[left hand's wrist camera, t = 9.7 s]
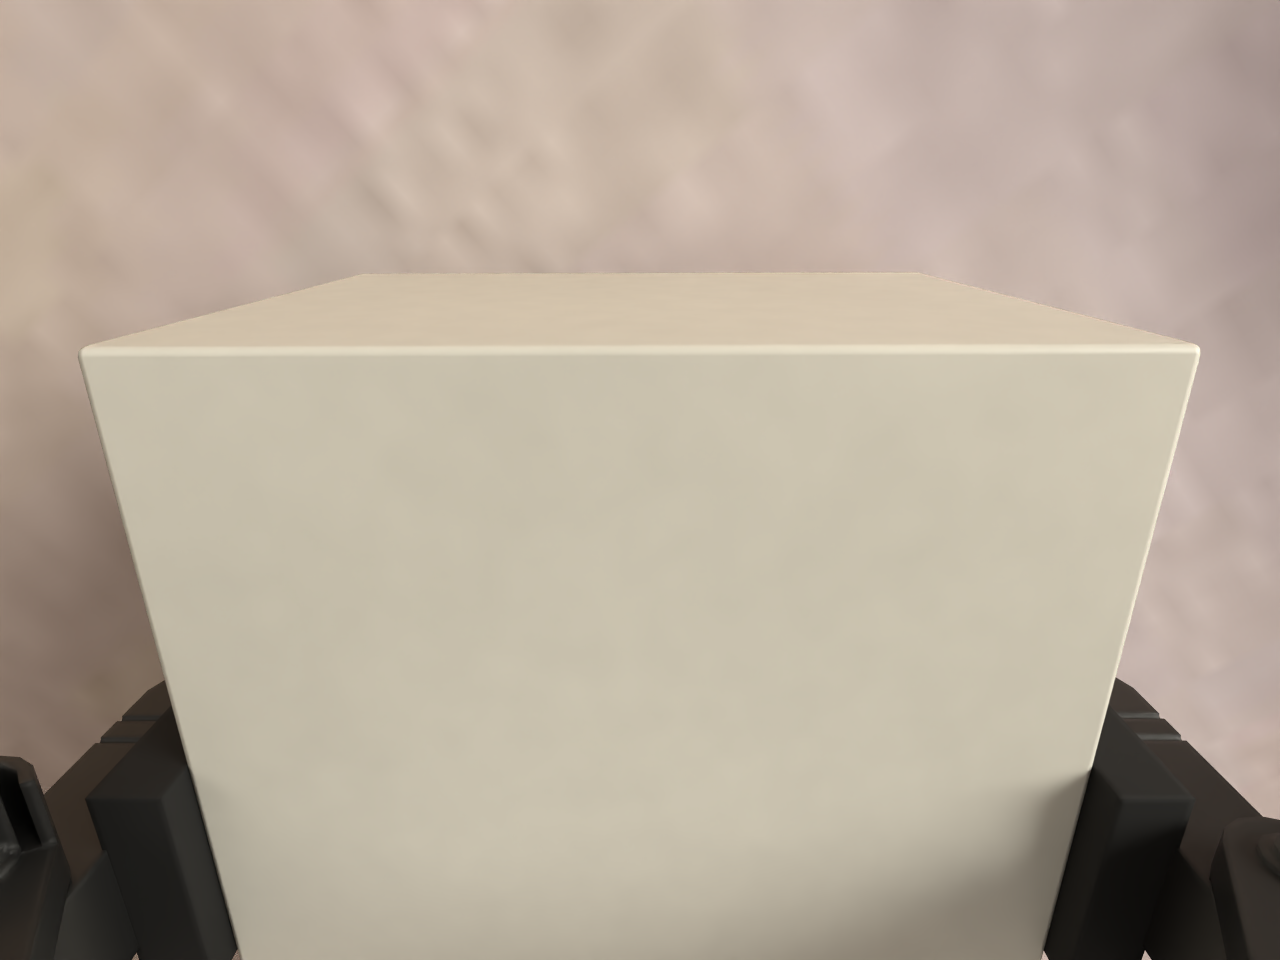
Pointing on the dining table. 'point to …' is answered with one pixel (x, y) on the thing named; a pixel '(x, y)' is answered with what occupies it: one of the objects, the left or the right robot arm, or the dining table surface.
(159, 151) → the dining table surface
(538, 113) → the dining table surface
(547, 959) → the slab
